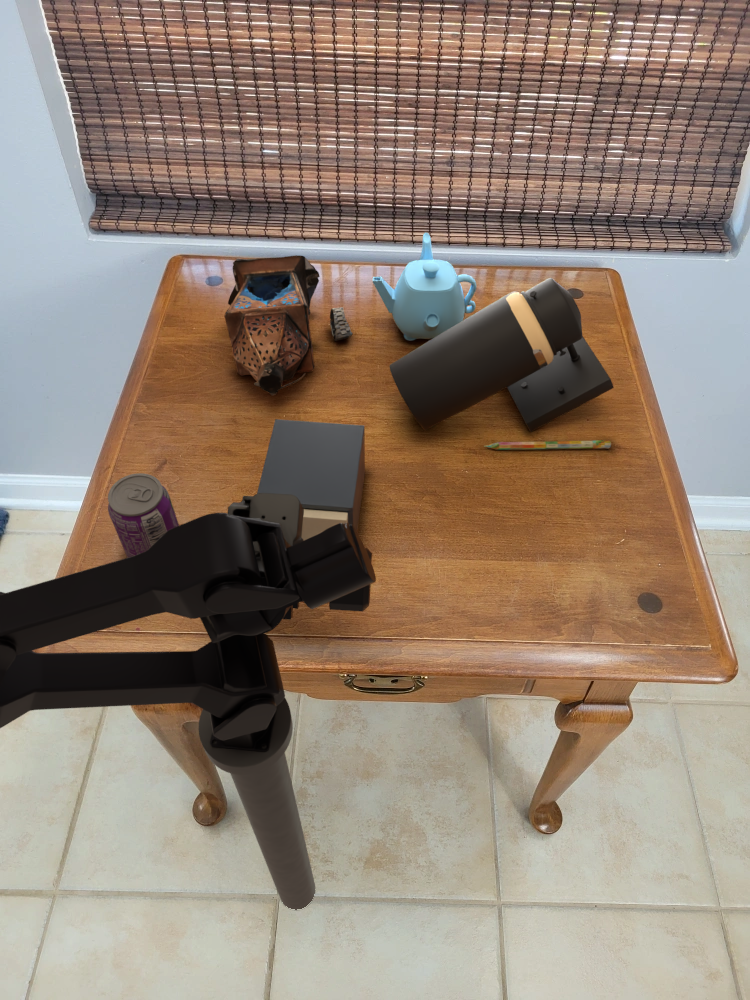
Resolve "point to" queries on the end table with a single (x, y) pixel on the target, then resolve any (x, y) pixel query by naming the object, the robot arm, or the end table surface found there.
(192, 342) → the end table surface
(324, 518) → the drawer
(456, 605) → the end table surface
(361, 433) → the cabinet
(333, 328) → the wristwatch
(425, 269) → the teapot
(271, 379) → the lantern
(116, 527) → the beverage can
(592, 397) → the light fixture
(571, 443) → the pencil
